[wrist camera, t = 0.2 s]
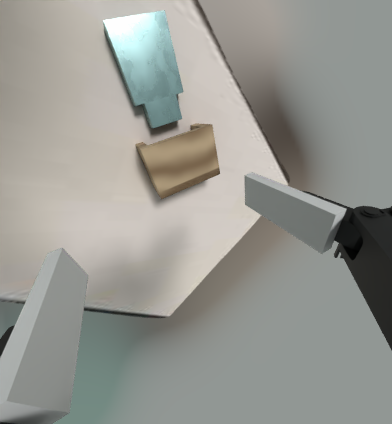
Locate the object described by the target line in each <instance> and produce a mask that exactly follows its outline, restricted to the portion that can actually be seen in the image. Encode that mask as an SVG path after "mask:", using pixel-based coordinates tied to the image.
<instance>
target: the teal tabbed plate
mask: <svg viewBox="0 0 392 424" xmlns="http://www.w3.org/2000/svg"><path fill="white" fill-rule="evenodd" d="M103 22H104V31H105V33H106V36H107V38H108V41H109V44H110V46H111V49H112V51H113V54H114V56H115V59H116V62H117V64H118V67H119V69H120V72H121V74H122V77H123V80H124V82H125V85H126V87H127V90H128V92H129V95H130V98H131V100H132V103H133V105H134V107H135V106H138V105H142V106H143V109H144V112H145V115H146V117H147V120H148V123H149V126H150V128H156V127H159V126H162V125H165V124H168V123H171V122H174V121H177V120H180V119H182V116H181V112H180V108H179V104H178V100H177V96H176V94H179V93H182V92H183V88H182V84H181V79H180V75H179V71H178V66H177V62H176V58H175V53H174V49H173V45H172V40H171V36H170V32H169V27H168V23H167V19H166V14H165V10H164V11H158V12H152V13H146V14H140V15H134V16H128V17H122V18H116V19H109V20H103Z"/></svg>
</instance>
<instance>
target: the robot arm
mask: <svg viewBox="0 0 392 424" xmlns="http://www.w3.org/2000/svg"><path fill="white" fill-rule="evenodd" d="M245 205H247V206H248V207H250V208H251V209H253V210H254V211H256V212H258V213H259V214H261V215H262V216H264V217H265V218H267V219H268V220H270V221H272V222H273V223H275V224H276V225H278V226H279V227H281V228H282V229H284V230H285V231H287V232H288V233H290V234H292V235H293V236H295V237H296V238H298V239H299V240H301V241H302V242H304V243H305V244H307V245H308V246H311V247H312V248H313V249H315V250H316V251H318V252H319V253H321V254H322V253H324V252H326V251H327V250H329V249H330V248H331V247H332V244H333V242H334V240H335V241H337V242H338V243H339V244H338V247H337V249H336V251H335V253H334V257H335V258H337V257H338V254H339V252H341V256H340V258H344V260H345V262H346V264H347V266H348V268H349V270H350V271H351V273H352V275H353V277H354V279H355V281H356V283H357V285H358V287H359V289H360V291H361V292H362V294H363V296H364V298H365V300H366V302H367V304H368V306H369V308H370V310H371V312H372V313H373V315H374V317H375V319H376V321H377V323H378V325H379V327H380V329H381V331H382V333H383V334H384V336H385V338H386V340H387V342H388V344H389V346H390V348H391V350H392V206H391V208H386V209H378V208H375V207H369V206H360V207H356V208H355V209H353V208H350V207H347V206H344V205H342V204H339V203H336V202H334V201H331V200H328V199H324V198H323V197H320V196H317V195H315V194H312V193H310V192H305V191H300V190H296V189H294V188H291V187H289V186H286V185H284V184H281V183H279V182H276V181H273V180H271V179H268V178H266V177H263V176H261V175H258V174H255V173H253V172H252V173H249V174H247V175H245ZM87 281H88V274H87V273H86V272H85V271H84V270H83V269H82V268H81V267H80V266H79V265H78V264H77V263H76V262H75V260H74V259H73V258H72V257H71V256H70V255H69V254H68V253H67V252H66V251H65V250H64V249H63V248H60V249H57V250H55V251H52V252H50V253H48V254H47V256H46V258H45V261H44V263H43V265H42V267H41V269H40V272H39V274H38V276H37V278H36V280H35V283H34V285H33V287H32V289H31V291H30V294H29V296H28V298H27V300H26V302H25V305H24V307H23V309H22V311H21V313H20V316H19V318H18V320H17V322H16V324H15V325H14V326H12V327H10V328H8V330H7V331H6V332H5V334H4V335H3V336H2V338H1V339H0V424H53V423H54V422H56V421H57V420H59V419H61V418H62V417H64V416H65V415H67V414H68V413H69V412H70V405H71V398H72V390H73V383H74V376H75V369H76V362H77V354H78V347H79V339H80V332H81V324H82V318H83V310H84V303H85V296H86V288H87Z"/></svg>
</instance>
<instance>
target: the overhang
mask: <svg viewBox="0 0 392 424" xmlns="http://www.w3.org/2000/svg"><path fill="white" fill-rule="evenodd" d="M135 145H136V147H137V149H138V151H139V154H140V156H141V158H142V161H143V163H144V165H145V168H146V170H147V172H148V174H149V177H150V179H151V181H152V184H153V186H154V188H155V190H156V191H157V193H158V194H159V196H160V198H161V199H163V198H166V197H168V196H170V195H173V194H175V193H177V192H179V191H182V190H184V189H186V188H189V187H191V186H193V185H196V184H198V183H200V182H202V181H205V180H207V179H209V178H212V177H214V176H216V175H219V174H220V170H219V164H218V158H217V152H216V146H215V139H214V133H213V127H212V125H210V124H194V125H191V131H188V132H185V133H182V134H179V135H177V136H174V137H171V138H168V139H165V140H162V141H159V142H157V143H154V144H151V145H148V146H147V145H146V144H144V143H143V142H141V143H138V144H135Z"/></svg>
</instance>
